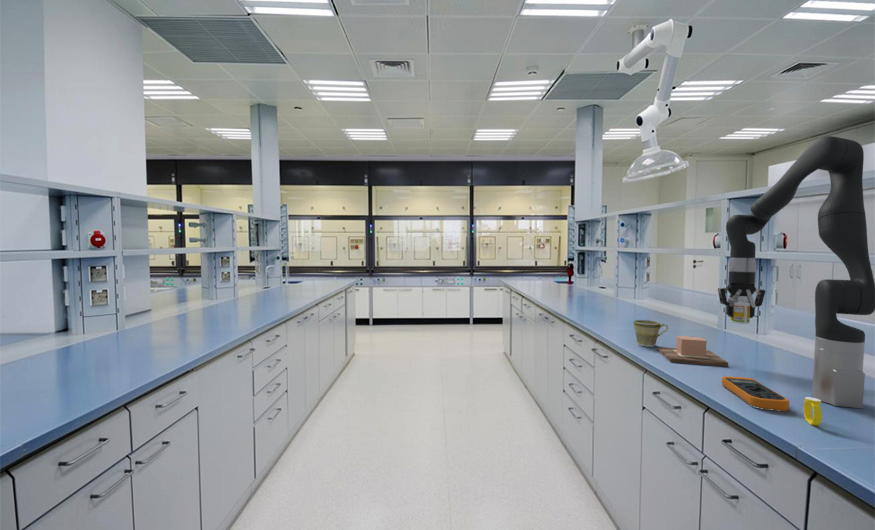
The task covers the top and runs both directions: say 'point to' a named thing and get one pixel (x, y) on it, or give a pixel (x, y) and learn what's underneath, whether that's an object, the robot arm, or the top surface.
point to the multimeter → (755, 393)
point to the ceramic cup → (647, 332)
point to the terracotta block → (691, 346)
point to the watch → (817, 413)
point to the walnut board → (692, 357)
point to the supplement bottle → (741, 310)
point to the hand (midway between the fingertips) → (740, 316)
